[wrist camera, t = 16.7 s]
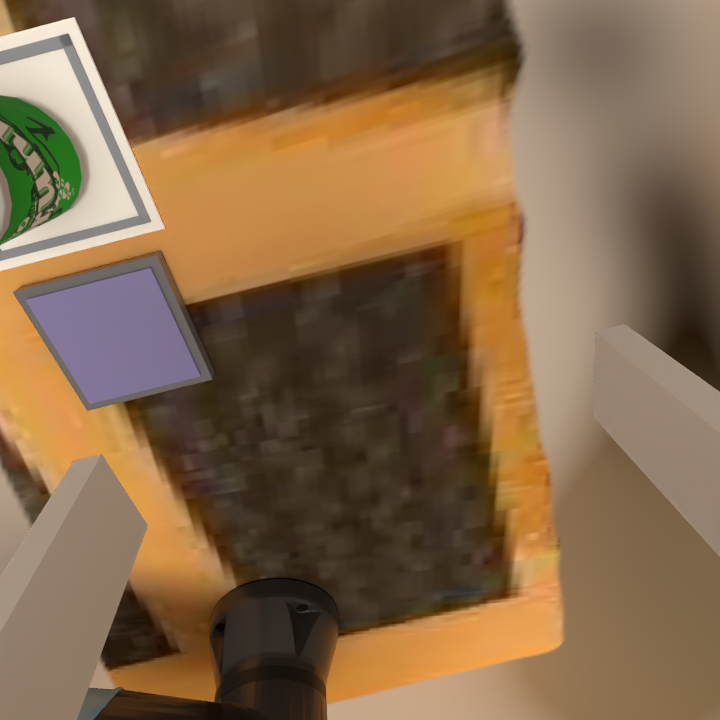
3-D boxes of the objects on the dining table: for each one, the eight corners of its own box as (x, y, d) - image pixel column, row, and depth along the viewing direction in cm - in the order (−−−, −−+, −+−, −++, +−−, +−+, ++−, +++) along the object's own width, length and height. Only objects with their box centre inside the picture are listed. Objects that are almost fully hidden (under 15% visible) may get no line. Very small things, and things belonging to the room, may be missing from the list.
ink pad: (214, 372, 42) (211, 381, 40) (92, 402, 42) (86, 412, 40) (160, 250, 36) (155, 256, 35) (21, 286, 36) (10, 293, 35)
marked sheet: (165, 228, 35) (164, 229, 35) (-3, 271, 36) (-7, 273, 35) (75, 17, 29) (72, 16, 29) (-129, 72, 29) (-134, 71, 29)
